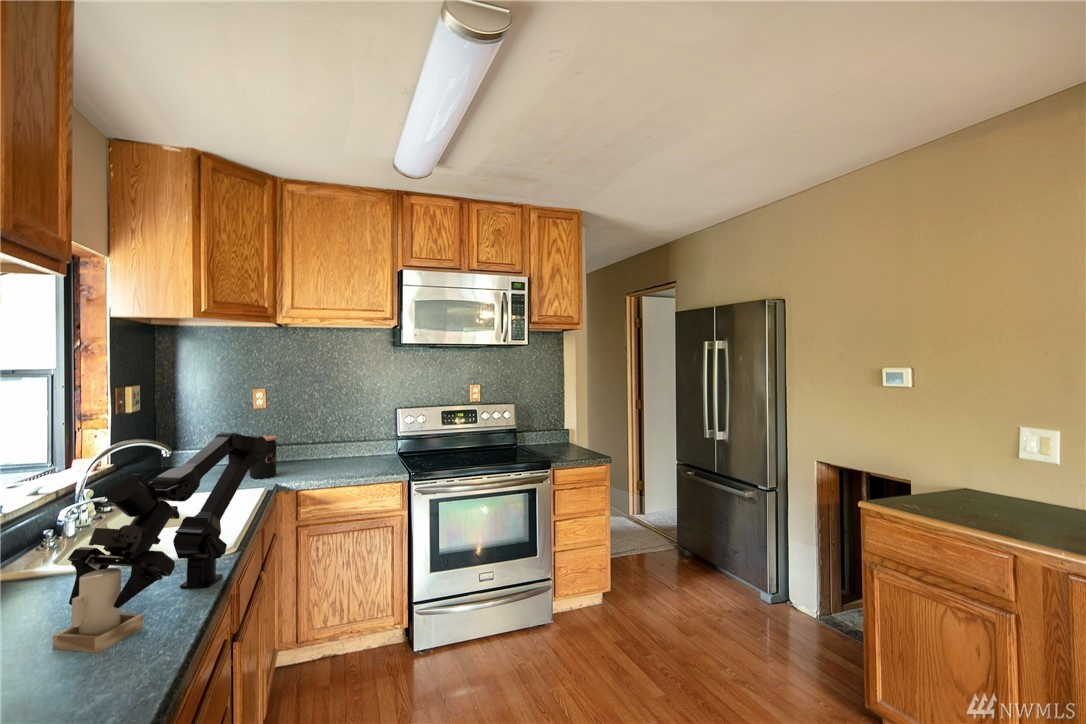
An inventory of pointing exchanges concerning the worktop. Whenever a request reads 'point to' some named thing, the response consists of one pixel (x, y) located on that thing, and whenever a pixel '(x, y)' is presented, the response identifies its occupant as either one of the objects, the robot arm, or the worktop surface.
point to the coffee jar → (266, 461)
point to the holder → (96, 644)
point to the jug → (97, 602)
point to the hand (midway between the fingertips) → (93, 606)
